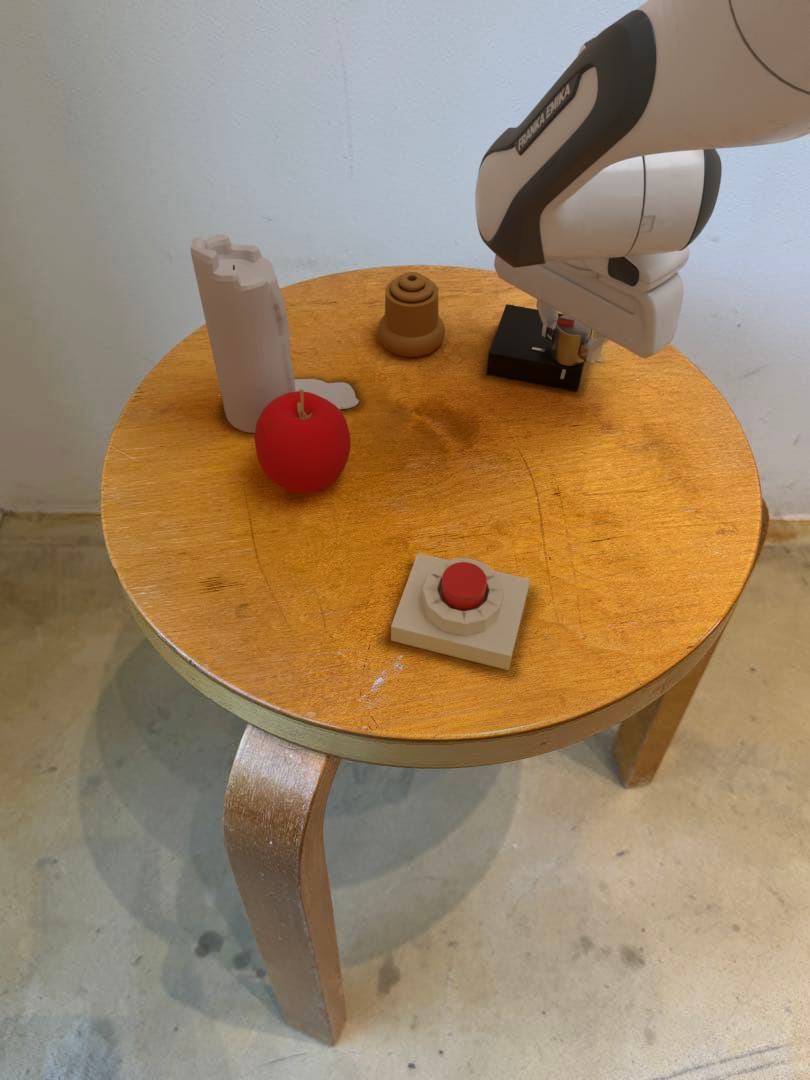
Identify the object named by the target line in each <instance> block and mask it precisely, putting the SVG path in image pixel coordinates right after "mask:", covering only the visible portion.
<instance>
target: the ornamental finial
mask: <svg viewBox="0 0 810 1080" xmlns="http://www.w3.org/2000/svg"><path fill="white" fill-rule="evenodd" d="M437 285H438V284H436V283H435V282H434V281H433V280H431V279H430V278H429V277H428V276H426V275H423V274H421V273H419V272H416V271H408V272H405V273H402V274H400V275H398V276H396V277H395V278H394V279H392V280H391V281H389V282H388V284H386V287H385V293H384V294H385V295H384V296H385V297H384V314H383V315H382V317H381V318H380V320H379V322H378V326H377V334H378V335H377V336H378V338H379V340H380V343H381V344H382V346H383V347H384V348H385V349H386V350H388V351H389V352H390V353H392V354H394V355H397V356H400V357H404V358H419V357H423V356H426V355H429V354H431V353H433V352H434V351H435V350H437V349H438V348H439V347H440V345H442V342H443V341H444V337H445V333H446V329H445V323H444V321H443V319H442V318H441V316H440V315H439V287H438V286H437Z"/></svg>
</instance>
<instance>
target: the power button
mask: <svg viewBox="0 0 810 1080" xmlns="http://www.w3.org/2000/svg"><path fill="white" fill-rule="evenodd" d="M486 584H487V578H486V575H485V573H484V572H483V570H482V569H481V568H480V567H478V566H477V565H475V564H472V563H468V562H459V563H455V564H452V565H451V566H449V567H448V568H447V569H446V570H445V571H444V573H443V576H442V587H441V594H442V597H443V599H444V601H445V602H446V603H447V604H448V605H449V606H451V607H453V608H455V609H459V610H470V609H473V608H475V607H477V606H478V605H480V604H481V603H482V601H483V600H484V597H485V592H486Z"/></svg>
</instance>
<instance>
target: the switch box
mask: <svg viewBox="0 0 810 1080" xmlns="http://www.w3.org/2000/svg"><path fill="white" fill-rule="evenodd" d="M459 562H468V563H472V564H475V565H477V566H478V567H480V568H481V569H482V570H483V572H484V573H485V575H486V578H487V584H486V592H485V597H484V600H483V601H482V603H481V604H480V605H478V606H477V607H475V608H473V609H470V610H459V609H455V608H453V607H451V606H449V605H448V604H447V603H446V602H445V601H444V599H443V597H442V594H441V587H442V576H443V573H444V571H445V570H446V569H447V568H448V567H449V566H451V565H452V564H455V563H459ZM530 583H531V579H530V578H527V577H523V576H520V575H519V576H518V575H515V574H510V573H506V572H502V571H497V570H494V569H492V568H491V567H490V566H488V564H486V563H485V562H484V561H480V560H476V559H473V558H467V557H457V558H453V559H452V558H451V559H446V558H442V557H438V556H433V555H429V554H425V553H421V552H417V553H416V556H415V559H414V561H413V565H412V567H411V569H410V572H409V576H408V577H407V581H406V584H405V586H404V589H403V592H402V595H401V597H400V600H399V602H398V605H397V609H396V611H395V614H394V617H393V620H392V622H391V625H390V640H391V642H395V643H399V644H401V645H406V646H411V647H414V648H418V649H423V650H427V651H430V652H435V653H438V654H441V655H447V656H450V657H454V658H458V659H463V660H466V661H470V662H473V663H479V664H482V665H486V666H489V667H494V668H497V669H502V670H505V671H509V670H510V666H511V662H512V658H513V654H514V650H515V645H516V642H517V638H518V634H519V630H520V626H521V622H522V618H523V614H524V609H525V605H526V602H527V598H528V593H529V589H530Z"/></svg>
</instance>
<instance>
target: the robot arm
mask: <svg viewBox="0 0 810 1080" xmlns="http://www.w3.org/2000/svg"><path fill="white" fill-rule="evenodd" d="M807 135H810V0H647V1H645V2H644V3H642V4H641V5H640V6H639V7H637V8H636V9H633V10H631V11H629V12H627V13H626V14H625V15H623V16H621V18H619V19H618V20H616V21H615V22H613V23H612V24H610V25H608V26H607V27H606V28H604V29H603V30H601V32H599V33H598V34H597V35H596V36H595V37H592V38H591V39H589V40H588V41H585V42H584V43H583V44H582V45H581V47H580V49H579V51H578V53H577V55H576V57H575V58H574V60H573V61H572V62H571V64H569V66H568V67H567V68H566V69H565V71H564V72H563V73H562V74H561V75H560V77H558V79H557V80H556V81H555V83H554V84H553V85H552V86H551V87H550V88H549V89H548V90H547V92H545V94H544V95H543V97H541V99H540V101H538V102H537V104H536V105H535V106H534V107H533V109H532V110H531V111H530V112H529V113H528V114H527V116H526V117H524V119H523V120H522V122H520V124H519V125H517V126H516V127H508V128H506V130H504V131H503V132H502V133H501V134H500V135H499V136H498V137H497V138H496V139H495V141H494V142H493V143H492V144H491V145H490V147H489V148H488V149H487V151H486V152H485V154H484V155H483V157H482V159H481V161H480V164H479V168H478V172H477V178H476V183H475V191H474V206H475V217H476V224H477V229H478V233H479V236H480V238H481V241H482V242H483V243H484V244H485V246H487V247H488V248H489V249H490V250H491V251H492V252H493V253H494V254H495V255H494V263H493V265H494V270H495V272H496V276H497V277H498V278H499V279H500V280H502V281H504V282H506V283H507V284H508V285H511V286H513V287H515V288H516V289H518V290H520V291H522V292H524V294H525V293H526V294H527V295H529V296H531V297H533V298H534V299H536V305H535V306H536V309H537V310H538V312H539V315H540V318H541V320H542V323H543V328H542V336H543V337H545V338H547V339H548V340H550V341H552V342H553V340H554V334H555V328H556V323H557V319H558V313H560V314H565V315H567V316H568V317H570V318H572V319H574V320H575V321H577V322H579V323H581V324H583V325H584V326H586V327H588V328H590V329H592V330H593V331H592V337H591V339H589V340H588V342H585V343H584V344H582V345H581V348H580V352H581V353H580V354H579V357H580V358H581V359H583V360H585V363H588V364H590V365H592V364H594V363H596V362H595V361H596V360H598V359H600V358H601V354H602V350H603V346H604V345H606V344H607V343H608V342H609V341H611V342H613V343H615V344H617V345H619V346H621V347H622V348H625V349H626V350H627V351H629V352H630V353H633V354H634V355H636V356H638V357H640V358H642V359H648V358H651V357H652V356H655V355H657V354H658V353H660V352H661V351H663V350H664V349H666V348H667V346H669V345H670V344H671V342H672V341H673V339H674V337H675V334H676V332H677V327H678V324H679V321H680V316H681V311H682V306H683V305H682V304H683V301H684V300H683V299H684V282H683V280H682V277H681V275H680V273H679V271H681V269H683V268H684V267H685V266H686V264H687V262H688V261H689V257H690V248H689V246H690V245H691V244H692V243H693V242H694V241H695V240H696V239H697V238H698V237H699V236H700V234H701V233H702V231H703V230H704V229H705V227H706V226H707V224H708V222H709V221H710V219H711V217H712V215H713V213H714V210H715V207H716V204H717V200H718V197H719V193H720V189H721V188H720V187H721V183H722V181H721V180H722V169H723V168H722V166H723V165H722V159H721V157H720V154H719V153H718V151H717V150H718V149H733V148H747V147H757V146H758V147H759V146H766V145H767V146H768V145H773V144H774V145H775V144H780V143H784V142H790V141H792V140H796V139H800V138H802V137H805V136H807Z"/></svg>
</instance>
